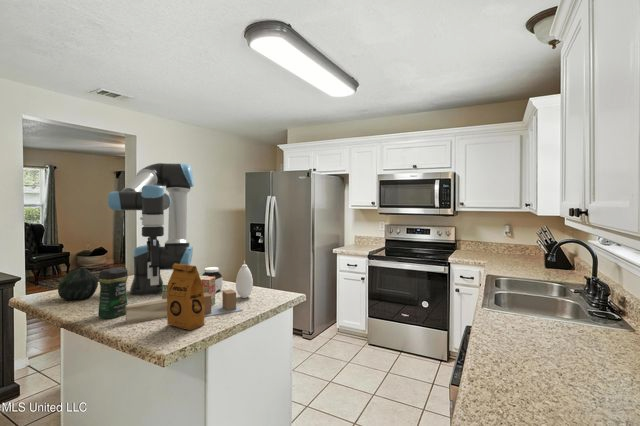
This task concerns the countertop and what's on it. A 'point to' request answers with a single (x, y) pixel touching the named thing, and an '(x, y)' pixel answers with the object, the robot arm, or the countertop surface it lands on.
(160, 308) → the bar
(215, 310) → the build board
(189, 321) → the coffee package
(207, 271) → the spread jar
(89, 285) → the squash
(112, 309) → the coffee jar
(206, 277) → the stack of blocks
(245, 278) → the sauce bottle
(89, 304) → the countertop surface
